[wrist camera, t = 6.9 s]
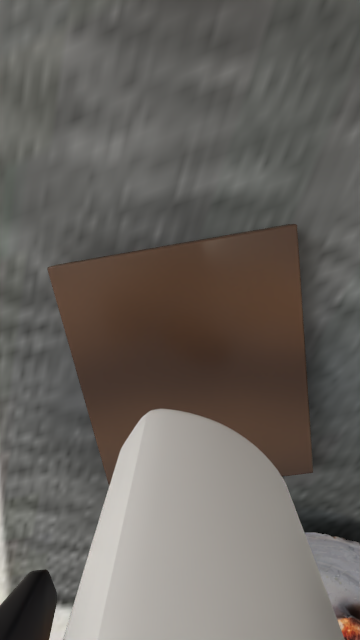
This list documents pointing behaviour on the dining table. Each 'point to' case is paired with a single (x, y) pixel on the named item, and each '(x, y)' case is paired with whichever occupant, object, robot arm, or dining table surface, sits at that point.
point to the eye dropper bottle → (198, 544)
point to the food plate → (340, 578)
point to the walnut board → (193, 339)
